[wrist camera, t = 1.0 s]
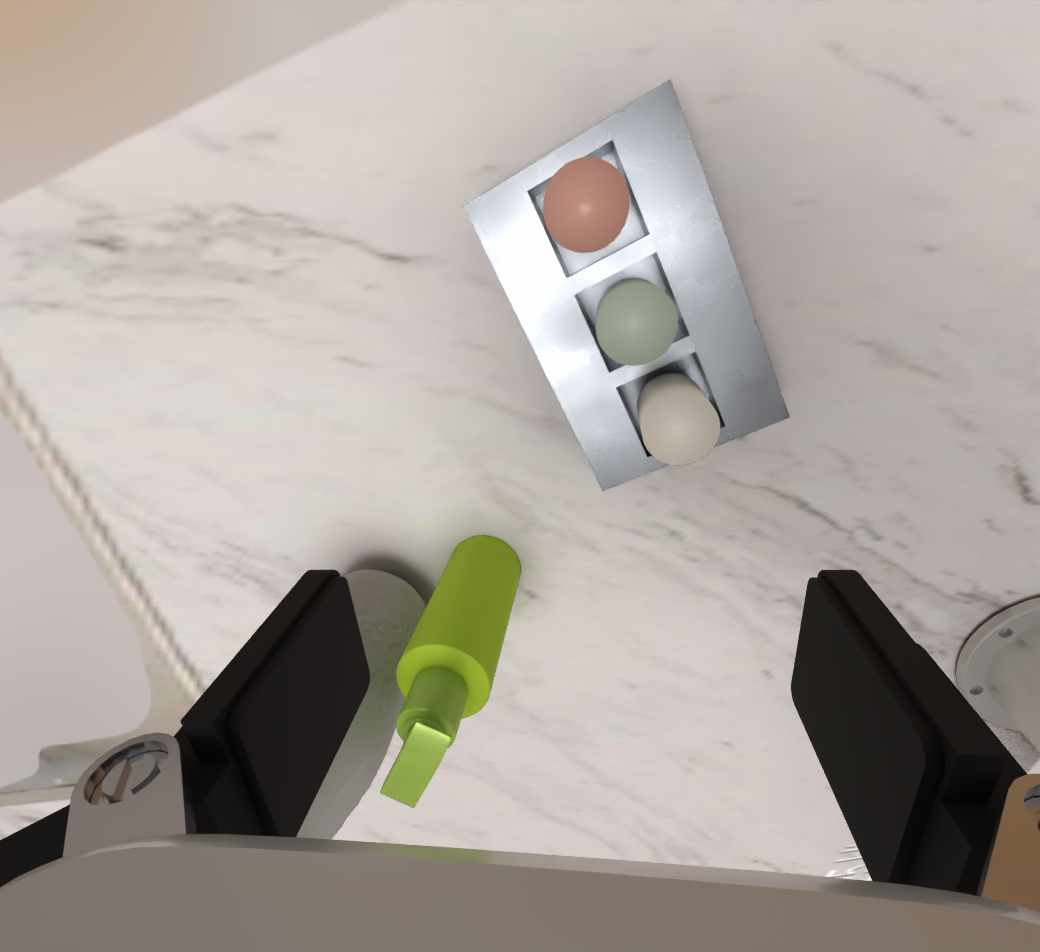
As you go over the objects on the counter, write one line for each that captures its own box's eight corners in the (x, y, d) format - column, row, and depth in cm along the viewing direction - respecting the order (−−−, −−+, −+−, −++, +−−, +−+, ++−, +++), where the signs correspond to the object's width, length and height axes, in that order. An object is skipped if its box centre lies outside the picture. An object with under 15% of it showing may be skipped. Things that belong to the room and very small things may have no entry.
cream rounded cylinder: (689, 361, 32) (704, 380, 27) (713, 420, 33) (731, 448, 28) (626, 389, 33) (630, 412, 28) (651, 445, 34) (659, 476, 29)
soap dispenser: (537, 544, 43) (489, 764, 25) (504, 606, 46) (438, 844, 27) (471, 513, 43) (372, 712, 24) (441, 577, 45) (333, 798, 27)
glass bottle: (320, 610, 49) (9, 1007, 23) (363, 528, 45) (41, 902, 19) (414, 662, 50) (214, 1101, 24) (465, 586, 45) (288, 1020, 20)
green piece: (650, 264, 30) (659, 267, 25) (677, 330, 31) (690, 344, 27) (585, 298, 31) (582, 306, 27) (613, 360, 32) (615, 378, 28)
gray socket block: (661, 102, 30) (670, 78, 26) (768, 398, 36) (789, 417, 32) (480, 211, 34) (463, 206, 30) (602, 465, 39) (603, 490, 35)
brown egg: (607, 156, 28) (608, 138, 24) (637, 229, 29) (643, 226, 25) (539, 196, 29) (528, 186, 25) (571, 265, 31) (565, 268, 26)
